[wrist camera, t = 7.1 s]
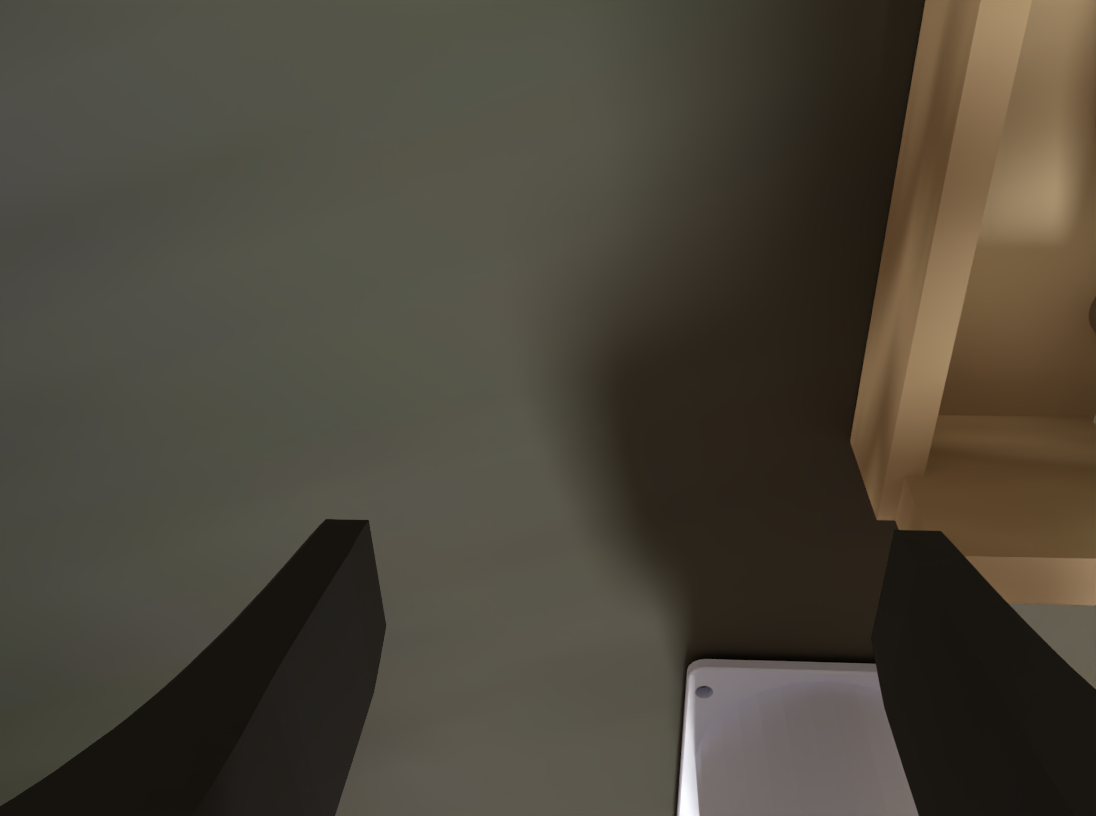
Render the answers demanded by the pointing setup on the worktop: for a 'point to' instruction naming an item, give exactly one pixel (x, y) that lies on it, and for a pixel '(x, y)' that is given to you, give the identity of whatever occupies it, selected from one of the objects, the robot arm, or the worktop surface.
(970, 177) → the peg cradle
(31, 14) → the worktop surface
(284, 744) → the robot arm
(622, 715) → the worktop surface
